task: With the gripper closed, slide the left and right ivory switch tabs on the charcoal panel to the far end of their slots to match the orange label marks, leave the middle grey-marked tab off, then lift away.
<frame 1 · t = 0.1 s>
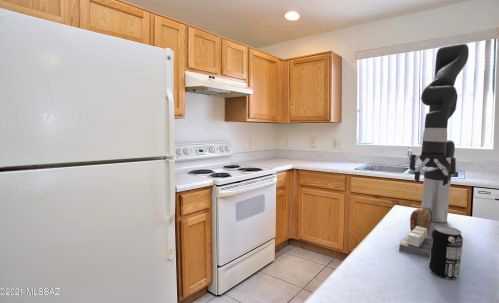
hand: (430, 183, 104), 17 cm above the counter, tool pointing down, fingers open, 8 cm apart
switch panel: (425, 249, 86), on the counter
tab a: (420, 232, 91), point 4 cm above the counter, slide at 0.0 cm
tab b: (417, 236, 88), point 4 cm above the counter, slide at 0.0 cm
beverage can: (443, 274, 73), on the counter
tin: (420, 231, 102), on the counter
tab c: (414, 239, 85), point 4 cm above the counter, slide at 0.0 cm
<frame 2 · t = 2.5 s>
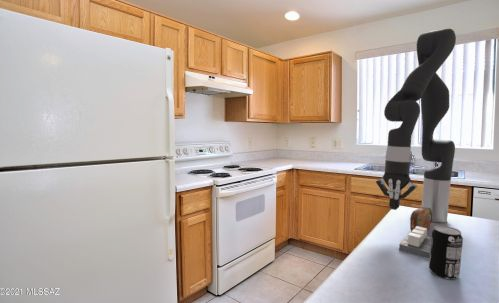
hand: (393, 209, 96), 10 cm above the counter, tool pointing down, fingers closed
nothing on the counter moved.
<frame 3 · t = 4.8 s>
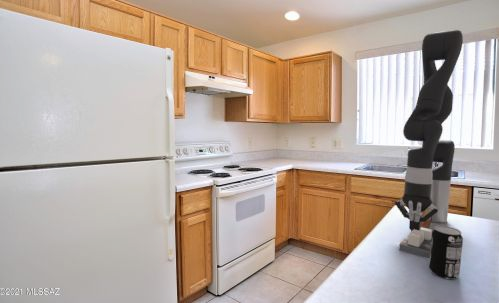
hand: (414, 231, 92), 4 cm above the counter, tool pointing down, fingers closed
tab a: (425, 233, 90), point 4 cm above the counter, slide at 1.4 cm, touching gripper
everything else where it was.
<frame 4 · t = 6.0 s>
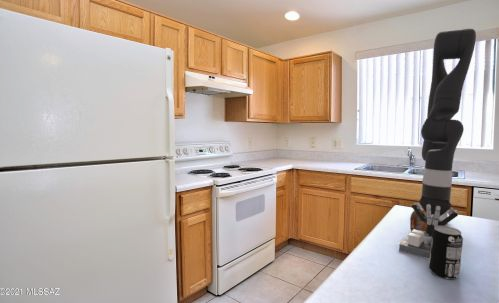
hand: (431, 235, 89), 3 cm above the counter, tool pointing down, fingers closed
tab a: (444, 238, 86), point 4 cm above the counter, slide at 6.4 cm, touching gripper
everything else where it was.
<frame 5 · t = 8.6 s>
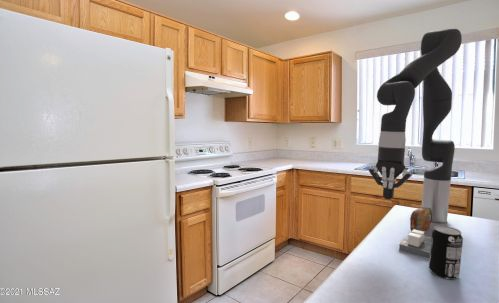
hand: (387, 199, 89), 15 cm above the counter, tool pointing down, fingers closed
tab a: (443, 238, 86), point 4 cm above the counter, slide at 6.3 cm
everything else where it was.
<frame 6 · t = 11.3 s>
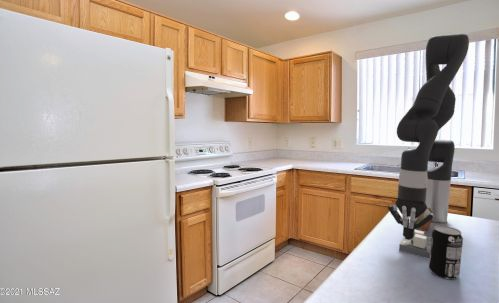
hand: (408, 238, 86), 4 cm above the counter, tool pointing down, fingers closed
tab c: (420, 241, 84), point 4 cm above the counter, slide at 1.5 cm, touching gripper
everything else where it was.
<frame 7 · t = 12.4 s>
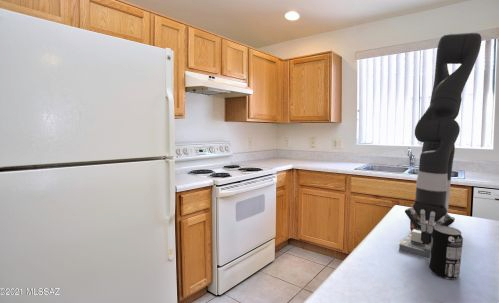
hand: (426, 243, 83), 4 cm above the counter, tool pointing down, fingers closed
tab c: (439, 246, 81), point 4 cm above the counter, slide at 6.4 cm, touching gripper
everything else where it was.
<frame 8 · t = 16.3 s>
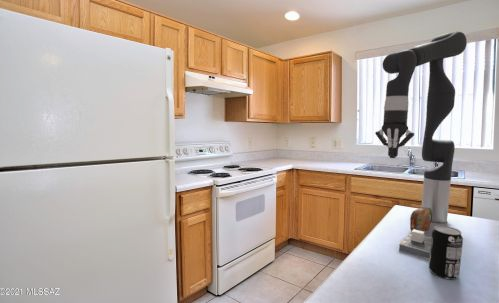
hand: (392, 157, 100), 27 cm above the counter, tool pointing down, fingers closed
tab c: (439, 246, 81), point 4 cm above the counter, slide at 6.3 cm
everything else where it was.
at the end: tab a slide at 6.3 cm; tab c slide at 6.3 cm; tab b slide at 0.0 cm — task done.
